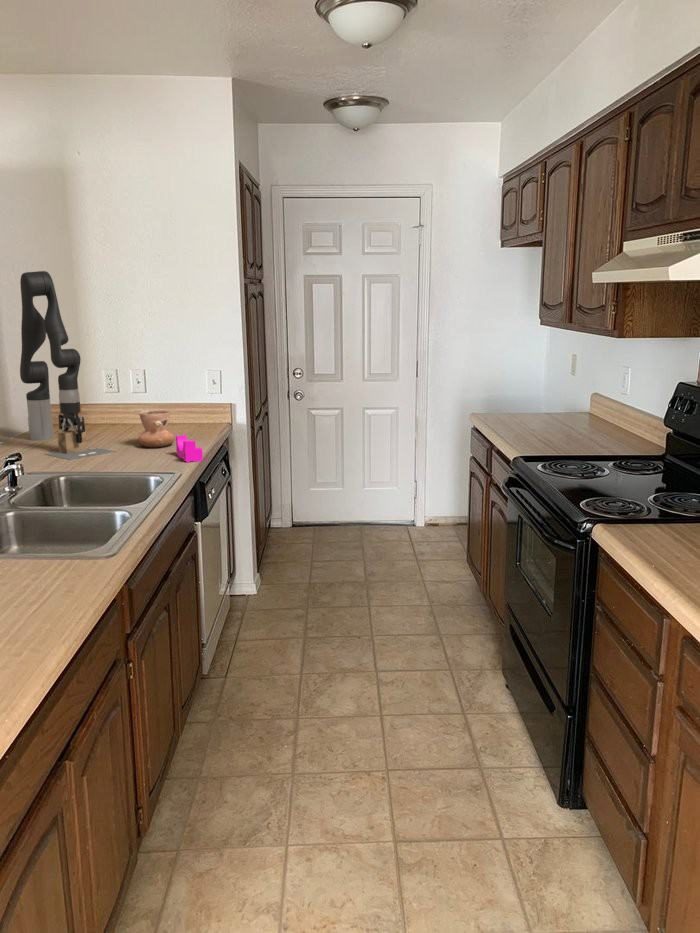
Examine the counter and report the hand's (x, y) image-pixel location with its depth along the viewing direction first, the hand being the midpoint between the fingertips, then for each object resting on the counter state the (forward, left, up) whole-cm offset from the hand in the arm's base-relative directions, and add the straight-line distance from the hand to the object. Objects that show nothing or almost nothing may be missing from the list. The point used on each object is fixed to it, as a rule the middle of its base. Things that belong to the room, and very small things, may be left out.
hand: (73, 441), depth 292 cm
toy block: (+46, +20, -4) cm, 50 cm away
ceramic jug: (+17, +27, -4) cm, 32 cm away
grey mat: (+5, 0, -4) cm, 6 cm away
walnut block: (0, 0, -4) cm, 4 cm away
